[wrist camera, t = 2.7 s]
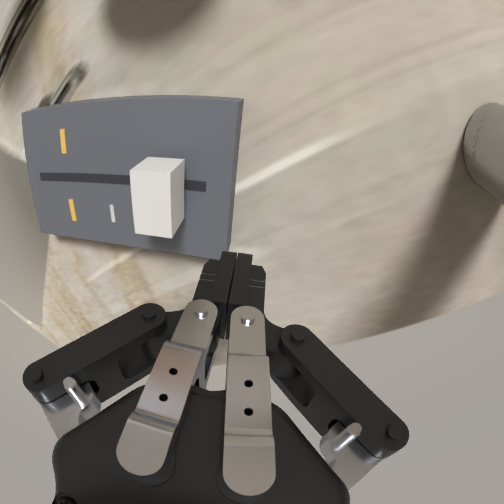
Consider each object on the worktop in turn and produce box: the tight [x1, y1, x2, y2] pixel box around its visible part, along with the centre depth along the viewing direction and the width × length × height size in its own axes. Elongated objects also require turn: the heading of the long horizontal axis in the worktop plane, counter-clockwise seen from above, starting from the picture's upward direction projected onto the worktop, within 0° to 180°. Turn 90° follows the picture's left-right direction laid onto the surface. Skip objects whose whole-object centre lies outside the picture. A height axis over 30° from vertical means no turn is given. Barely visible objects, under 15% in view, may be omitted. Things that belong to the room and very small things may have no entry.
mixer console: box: [22, 95, 244, 260], centre depth 24 cm, size 22×14×3 cm, turn 84°
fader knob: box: [130, 157, 185, 238], centre depth 21 cm, size 3×5×4 cm, turn 174°
